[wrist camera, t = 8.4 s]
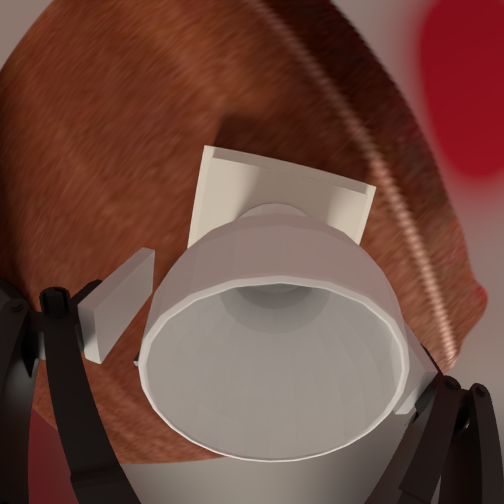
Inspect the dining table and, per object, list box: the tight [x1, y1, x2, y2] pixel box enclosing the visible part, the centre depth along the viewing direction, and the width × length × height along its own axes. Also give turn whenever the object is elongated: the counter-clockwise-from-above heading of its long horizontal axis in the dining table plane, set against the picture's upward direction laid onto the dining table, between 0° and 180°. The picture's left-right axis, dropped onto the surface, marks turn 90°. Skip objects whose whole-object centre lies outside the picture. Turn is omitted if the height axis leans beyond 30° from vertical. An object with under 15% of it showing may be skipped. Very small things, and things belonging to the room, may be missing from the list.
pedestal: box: [187, 146, 376, 249], centre depth 25 cm, size 14×14×4 cm
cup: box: [138, 203, 410, 462], centre depth 16 cm, size 11×11×15 cm
